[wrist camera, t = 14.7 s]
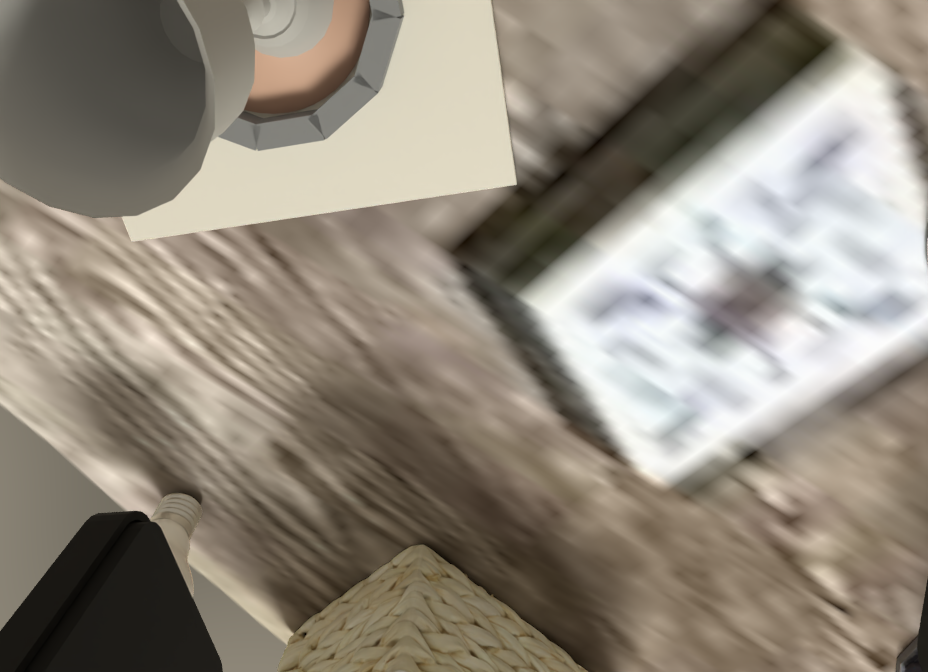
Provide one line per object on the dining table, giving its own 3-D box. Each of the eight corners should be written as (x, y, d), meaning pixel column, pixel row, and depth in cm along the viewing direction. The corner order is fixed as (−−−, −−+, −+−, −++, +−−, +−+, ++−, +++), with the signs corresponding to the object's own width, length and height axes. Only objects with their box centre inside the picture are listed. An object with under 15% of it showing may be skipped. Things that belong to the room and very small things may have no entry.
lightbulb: (253, 500, 49) (190, 645, 39) (201, 553, 51) (130, 700, 42) (167, 446, 47) (79, 583, 37) (118, 503, 49) (24, 645, 40)
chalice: (160, -36, 32) (-167, 8, 17) (281, -138, 30) (37, -199, 15) (270, 111, 35) (78, 267, 20) (388, 26, 33) (279, 124, 17)
